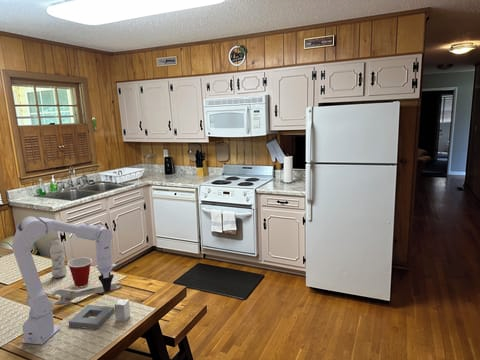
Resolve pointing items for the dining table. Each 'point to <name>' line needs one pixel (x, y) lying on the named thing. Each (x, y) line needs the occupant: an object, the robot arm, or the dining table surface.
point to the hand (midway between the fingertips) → (106, 287)
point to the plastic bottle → (57, 259)
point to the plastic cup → (80, 270)
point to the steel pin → (122, 310)
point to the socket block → (96, 322)
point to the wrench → (78, 293)
